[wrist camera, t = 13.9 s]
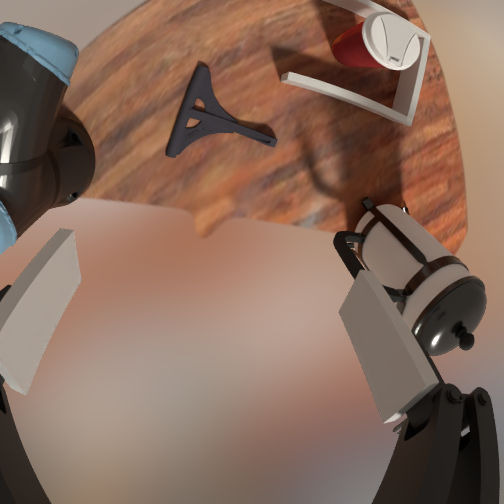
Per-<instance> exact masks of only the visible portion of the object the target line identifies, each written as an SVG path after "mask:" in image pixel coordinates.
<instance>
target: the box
mask: <svg viewBox="0 0 504 504" xmlns="http://www.w3.org/2000/svg"><path fill="white" fill-rule="evenodd" d="M322 1H325V2H328V3H331V4H333V5H336V6H339V7H341V8H344V9H346V10H349V11H351V12H353V13H356V14H358V15H360V16H362V17H365V18H367V17H368V16H369V15H371V14H373V13H376V12H384V11H386V12H390V13H393V12H392V11H390V10H388V9H386V8H384V7H382V6H380V5H378V4H376V3H374V2H372V1H370V0H322ZM393 14H395V13H393ZM396 15H397V14H396ZM398 16H399V15H398ZM401 18H402V17H401ZM402 19H404V18H402ZM404 20H405V21H406V22H407V23H408V24H409V25H410V26H411V27H412V28H413V30H414V31H415V33H416V34H417V37H418V39H419V43H420V53H419V56H418V58H417V60H416V61H415V62H414V63H413V64H412V65H411V66H410V67H408V68H406V69H404V70H401V73H400V78H399V82H398V86H397V90H396V94H395V98H394V102H393V106H392V109H390V108H388V107H386V106H384V105H382V104H379V103H377V102H375V101H373V100H370V99H368V98H365V97H363V96H361V95H358V94H356V93H353V92H351V91H348V90H345V89H343V88H340V87H337V86H334V85H331V84H329V83H326V82H323V81H319V80H316V79H313V78H310V77H307V76H303V75H300V74H296V73H293V72H287V73H284V74H282V76H281V81H280V82H283V83H287V84H291V85H295V86H298V87H302V88H305V89H309V90H312V91H315V92H319V93H322V94H325V95H328V96H331V97H334V98H337V99H339V100H342V101H345V102H348V103H350V104H353V105H356V106H358V107H361V108H363V109H366V110H368V111H371V112H373V113H375V114H378V115H380V116H382V117H385V118H387V119H389V120H391V121H393V122H397V123H400V124H404V125H407V126H411V124H412V121H413V117H414V114H415V110H416V106H417V102H418V98H419V94H420V90H421V85H422V81H423V76H424V71H425V66H426V61H427V56H428V50H429V44H430V38H431V36H430V35H429V34H427V33H426V32H425V31H423V30H421V29H420V28H418V27H417V26H415V25H414V24H412V23H410V22H409V21H407V20H406V19H404Z"/></svg>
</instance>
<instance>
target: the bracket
mask: <svg viewBox="0 0 504 504" xmlns="http://www.w3.org/2000/svg"><path fill="white" fill-rule="evenodd" d="M208 70H209V68H207V67H203V66H199V65H198V67H197V69H196V72H195V74H194V77H193V79H192V82H191V84H190V86H189V89H188V92H187V94H186V97H185V99H184V102H183V105H182V107H181V110H180V113H179V116H178V118H177V121H176V124H175V127H174V130H173V133H172V136H171V139H170V142H169V145H168V148H167V152H166V156H168V157H172V158H175V157H176V155H179V154H180V153H181V152H182V151H183V150H184V149H185V148H186V147H187V146H188V145H189V144H191V143H192V142H194V141H195V140H197V139H199V138H201V137H203V136H206V135H209V134H215V133H233V132H236V133H239V134H241V135H244V136H246V137H249V138H251V139H254V140H256V141H259V142H261V143H263V144H265V145H268V146H271V147H275V145H276V142H277V140H278V139H276V138H274V137H271V136H269V135H266V134H264V133H261V132H259V131H256V130H253V129H251V128H248V127H245V126H243V125H240V124H237V123H238V122H237V121H236V120H235V119H233V118H232V117H231V116H230V115H228V114H227V113H226V112H225V111H224V110H223V109H222V107H221V106H220V105H219V103H218V102H217V100H216V98H215V95H214V93H213V90H212V86H211V77H210V72H208ZM197 98H199V99H201V100H202V101H203V102H204V104H205V112H201V111H198V110H196V109H194V108H193V107H194V104H195V101H196V99H197ZM211 107H212V108H211ZM218 109H219V110H218ZM189 118H193V119H197V120H200V121H201V123H200V124H199V125H198V126H197V127H195V128H186V126H187V123H188V120H189ZM203 128H204V129H203ZM210 130H211V131H210Z"/></svg>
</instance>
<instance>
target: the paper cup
mask: <svg viewBox="0 0 504 504" xmlns="http://www.w3.org/2000/svg"><path fill="white" fill-rule="evenodd" d="M332 53H333V55H334V57H335V58H336V60H337V61H338V62H340V63H341V64H343V65H345V66H349V67H387V68H390V69H393V70H404V69H406V68H408V67H410V66H411V65H412V64H413V63H414V62H415V61H416V60H417V58H418V56H419V53H420V43H419V39H418V37H417V34H416V33H415V31H414V30H413V28H412V27H411V26H410V25H409V24H408V23H407V22H406V21H405V20H404V19H402V18H401V17H400V16H398V15H396V14H393V13H390V12H386V11H384V12H376V13H373V14H371V15H369V16H368V17H367V18H366V19H365V21H363V22H361V23H360V24H358V25H356V26H354V27H353V28H351V29H349V30H348V31H346V32H344V33H343V34H341V35H340V36H338V37H337V38H336V39H335V40H334V41H333V43H332Z"/></svg>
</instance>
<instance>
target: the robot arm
mask: <svg viewBox="0 0 504 504" xmlns="http://www.w3.org/2000/svg"><path fill="white" fill-rule="evenodd" d="M78 57H79V51H78V48H77V47H76V45H75V44H73V43H72V42H70V41H68V40H66V39H64V38H62V37H59V36H57V35H54V34H51V33H49V32H46V31H43V30H40V29H37V28H33V27H29V26H24V25H20V24H17V23H12V22H4V23H2V24H1V25H0V254H2V253H3V252H4V251H5V250H6V249H7V248H8V247H10V246H12V245H14V244H15V242H16V240H17V239H18V238H19V237H20V236H21V235H22V234H23V233H24V232H25V231H26V230H27V229H28V228H29V227H30V226H31V225H32V224H33V223H34V222H35V221H37V220H38V219H39V218H40V217H41V216H42V215H43V214H44V213H45V212H47V210H49V209H52V208H56V207H61V206H65V205H68V204H70V203H72V202H74V201H75V200H76V199H78V198H79V197H80V196H81V195H82V194H83V193H84V192H85V191H86V190H87V188H88V187H89V185H90V183H91V181H92V178H93V175H94V170H95V152H94V148H93V144H92V142H91V139H90V137H89V135H88V134H87V132H86V131H85V130H84V129H83V127H81V126H80V125H79V124H78V123H76V122H75V121H72V120H70V119H65V118H58V119H56V118H57V115H58V112H59V109H60V106H61V104H62V101H63V98H64V95H65V93H66V90H67V88H68V86H70V79H71V76H72V73H73V70H74V68H75V65H76V63H77V60H78ZM80 282H81V274H80V269H79V263H78V257H77V250H76V242H75V234H74V230H68V229H59V231H58V232H57V233H56V234H55V235H54V236H53V237H52V238H51V239H50V240H49V241H48V242H47V243H46V245H45V246H44V247H43V248H42V249H41V250H40V251H39V253H38V254H37V255H36V256H35V257H34V259H33V260H32V261H31V262H30V263H29V264H28V266H27V267H26V268H25V269H24V271H23V272H22V273H21V274H20V276H19V277H18V278H17V280H16V281H15V282H14V284H13V285H12V286H11V285H7V286H6V287H5V288H3V289H2V290H1V291H0V504H51V502H50V501H49V499H48V497H47V495H46V494H45V492H44V490H43V488H42V486H41V484H40V483H39V480H38V478H37V476H36V474H35V472H34V470H33V468H32V466H31V464H30V462H29V459H28V457H27V455H26V452H25V450H24V448H23V445H22V442H21V440H20V437H19V434H18V432H17V429H16V426H15V423H14V420H13V417H12V413H11V410H10V406H9V403H8V400H7V395H6V392H5V390H4V387H3V386H2V385H3V383H4V381H6V382H7V383H8V385H9V386H10V387H11V388H12V389H13V390H16V391H18V392H20V393H22V394H24V395H27V393H28V390H29V388H30V385H31V382H32V380H33V377H34V374H35V372H36V370H37V368H38V365H39V363H40V360H41V358H42V356H43V353H44V351H45V349H46V347H47V345H48V343H49V340H50V338H51V336H52V334H53V332H54V330H55V328H56V326H57V324H58V322H59V320H60V318H61V316H62V315H63V313H64V311H65V309H66V307H67V305H68V303H69V302H70V300H71V298H72V296H73V294H74V293H75V291H76V289H77V287H78V286H79V284H80ZM339 314H340V316H341V318H342V321H343V323H344V325H345V328H346V330H347V332H348V335H349V337H350V339H351V342H352V344H353V347H354V349H355V352H356V354H357V356H358V359H359V361H360V364H361V366H362V369H363V371H364V374H365V376H366V379H367V381H368V384H369V386H370V389H371V392H372V394H373V397H374V400H375V403H376V405H377V408H378V411H379V414H380V416H381V419H382V422H383V423H387V422H391V421H394V420H397V419H398V418H400V417H401V416H402V415H403V414H405V413H406V414H407V417H408V418H406V419H405V420H404V421H403V422H401V423H400V424H399V425H397V426H396V427H395V428H394V429H393V432H395V431H397V430H398V429H399V428H401V427H402V428H401V430H400V431H399V432H398V433H397V434H399V438H398V441H397V444H396V447H395V450H394V452H393V455H392V458H391V460H390V463H389V466H388V469H387V471H386V473H385V476H384V478H383V481H382V483H381V485H380V487H379V490H378V492H377V494H376V496H375V498H374V500H373V502H372V504H499V488H500V482H499V481H500V477H499V454H498V443H497V434H496V426H495V419H494V413H493V408H492V403H491V399H490V396H489V394H488V392H487V391H486V390H485V389H483V388H481V387H477V388H476V389H475V390H474V391H473V392H472V393H470V394H462V393H461V392H460V390H459V389H458V388H457V387H456V386H454V385H452V384H450V383H449V384H445V383H444V381H443V379H442V377H441V375H440V373H439V372H438V370H437V368H436V366H435V364H434V363H433V361H432V359H431V357H429V356H430V355H429V353H428V352H427V350H425V347H424V345H423V343H422V341H421V340H420V338H419V337H418V336H417V335H416V334H415V333H414V332H413V331H411V330H410V329H409V327H408V325H407V324H406V322H405V320H404V319H403V317H402V316H401V314H400V312H399V311H398V309H397V308H396V306H395V304H394V303H393V301H392V300H391V298H390V297H389V295H388V294H387V292H386V290H385V289H384V287H383V286H382V284H381V283H380V281H379V280H378V279H377V277H376V276H375V274H374V273H373V271H367V270H360V271H359V273H358V275H357V277H356V279H355V281H354V283H353V285H352V287H351V289H350V291H349V293H348V295H347V297H346V299H345V301H344V303H343V305H342V306H341V308H340V310H339ZM468 426H469V429H470V432H468V433H467V434H466V435H464V436H463V437H462V436H461V431H463V430H464V429H466V428H467V427H468Z"/></svg>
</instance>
